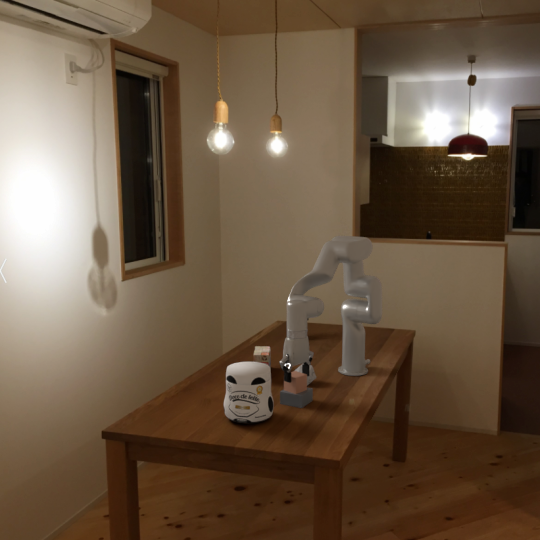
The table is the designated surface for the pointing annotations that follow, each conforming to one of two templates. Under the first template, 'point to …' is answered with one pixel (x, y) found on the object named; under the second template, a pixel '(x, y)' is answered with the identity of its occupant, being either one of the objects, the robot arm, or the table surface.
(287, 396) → the charcoal block
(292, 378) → the terracotta cube
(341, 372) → the robot arm
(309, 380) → the die
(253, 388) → the milk container
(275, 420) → the table surface
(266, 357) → the stack of blocks
